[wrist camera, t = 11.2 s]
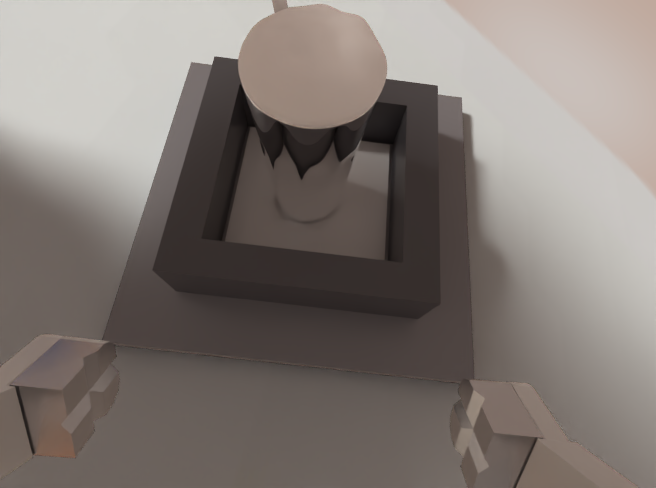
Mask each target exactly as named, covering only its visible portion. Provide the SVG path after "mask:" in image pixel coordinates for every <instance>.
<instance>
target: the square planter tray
mask: <svg viewBox="0 0 656 488" xmlns="http://www.w3.org/2000/svg"><path fill="white" fill-rule="evenodd" d="M102 340H103V341H110V342H112V343H113V344H115V345H118V346H127V347H136V348H145V349H154V350H163V351H172V352H181V353H190V354H199V355H208V356H217V357H226V358H235V359H244V360H253V361H262V362H271V363H280V364H289V365H298V366H307V367H316V368H326V369H335V370H344V371H353V372H362V373H371V374H380V375H389V376H398V377H407V378H416V379H425V380H434V381H443V382H452V383H460V382H461V381H462V380H463V379H464V378H470V379H474V360H473V337H472V315H471V293H470V271H469V249H468V226H467V204H466V182H465V160H464V138H463V116H462V98H460V97H452V96H445V95H438V86H435V85H428V84H420V83H413V82H405V81H397V80H390V79H386V80H385V84H384V87H383V89H382V91H381V93H380V96H379V99H378V101H377V103H376V106H375V108H374V111H373V113H372V116H371V118H370V120H369V123H368V125H367V128H366V130H365V133H364V135H363V138H362V140H361V142H360V145H359V148H358V150H357V153H356V156H355V158H354V161H353V164H352V167H351V170H350V172H349V175H348V178H347V181H346V184H345V186H344V189H343V192H342V195H341V198H340V200H339V203H338V206H337V208H336V209H334V210H333V211H332V212H331V213H330V214H329V215H328V216H326V217H325V218H324V219H323V220H320V221H311V222H302V223H301V222H299V221H297V220H295V219H293V218H291V217H289V216H287V215H285V214H283V212H282V210H281V208H280V206H279V204H278V202H277V200H276V198H275V196H274V193H273V190H272V186H271V182H270V178H269V175H268V171H267V167H266V163H265V160H264V156H263V152H262V148H261V144H260V141H259V137H258V134H257V131H256V127H255V124H254V121H253V118H252V115H251V112H250V109H249V105H248V102H247V99H246V96H245V93H244V89H243V86H242V83H241V80H240V76H239V71H238V59H230V58H223V57H214V61H213V64H212V65H208V64H200V63H193V62H191V65H190V68H189V72H188V75H187V78H186V81H185V84H184V87H183V90H182V93H181V96H180V100H179V103H178V106H177V109H176V112H175V115H174V118H173V121H172V124H171V127H170V131H169V134H168V137H167V140H166V143H165V146H164V149H163V152H162V155H161V159H160V162H159V165H158V168H157V171H156V174H155V177H154V180H153V183H152V187H151V190H150V193H149V196H148V199H147V202H146V205H145V208H144V211H143V215H142V218H141V221H140V224H139V227H138V230H137V233H136V236H135V239H134V242H133V246H132V249H131V252H130V255H129V258H128V261H127V264H126V267H125V270H124V274H123V277H122V280H121V283H120V286H119V289H118V292H117V295H116V298H115V302H114V305H113V308H112V311H111V314H110V317H109V320H108V323H107V326H106V330H105V333H104V336H103V339H102Z"/></svg>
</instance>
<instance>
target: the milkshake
mask: <svg viewBox="0 0 656 488" xmlns="http://www.w3.org/2000/svg"><path fill="white" fill-rule="evenodd" d="M272 2H273V7H274V12H275V13H274V14H272V15H270V16H268V17H266V18H264V19H262V20H261V21H259V22H258V23H257V24H256V25H255V26H254V27H253V28H252V29H251V30H250V32H249V33H248V35H247V37H246V38H245V40H244V42H243V45H242V47H241V50H240V53H239V58H238V71H239V76H240V80H241V83H242V86H243V89H244V93H245V96H246V99H247V102H248V105H249V109H250V112H251V115H252V118H253V121H254V124H255V127H256V131H257V134H258V137H259V141H260V144H261V148H262V152H263V156H264V160H265V163H266V167H267V171H268V175H269V178H270V182H271V186H272V190H273V193H274V196H275V198H276V200H277V202H278V204H279V206H280V208H281V210H282V212H283V214H285V215H287V216H289V217H291V218H293V219H295V220H297V221H299V222H301V223H302V222H311V221H320V220H323V219H324V218H325V217H326V216H328V215H329V214H330V213H331V212H332V211H333V210H334V209H336V208H337V206H338V203H339V200H340V198H341V195H342V192H343V189H344V186H345V184H346V181H347V178H348V175H349V172H350V170H351V167H352V164H353V161H354V158H355V156H356V153H357V150H358V148H359V145H360V142H361V140H362V138H363V135H364V133H365V130H366V128H367V125H368V123H369V120H370V118H371V116H372V113H373V111H374V108H375V106H376V103H377V101H378V99H379V96H380V93H381V91H382V89H383V87H384V84H385V80H386V75H387V61H386V57H385V54H384V52H383V49H382V48H381V46H380V44H379V42H378V40H377V39H376V37H375V35H374V33H373V31H372V30H371V28H370V26H369V25H368V23H367V22H366V21H365V19H363V18H362V17H360V16H358V15H355V14H350V13H345V12H342V11H339V10H337V9H335V8H333V7H331V6H328V5H324V4H315V5H308V6H299V7H289V8H288V6H287V0H272Z"/></svg>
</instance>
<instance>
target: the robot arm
mask: <svg viewBox="0 0 656 488" xmlns="http://www.w3.org/2000/svg"><path fill="white" fill-rule="evenodd" d="M116 357H117V354H116V348H115V344H113V343H112V342H110V341H103V340H95V339H87V338H79V337H71V336H61V335H52V334H43V335H39V336H37V337H36V338H35V339H34V340H32V341H31V342H30V343H29V344H27V345H26V346H25V347H24V348H23V349H21V350H20V351H19V352H18V353H17V354H15V355H14V356H13V357H12V358H10V359H9V360H8V361H7V362H6V363H4V364H3V365H2V366H1V367H0V480H1V479H3V478H4V477H5V476H7V475H8V474H10V473H11V472H13V471H14V470H16V469H17V468H19V467H20V466H21V465H23V464H24V463H26V462H27V461H29V460H30V459H32V458H33V455H39V456H54V457H70V458H76V457H77V455H78V454H79V452H80V451H81V450H82V448H83V447H84V445H85V444H86V443H87V441H88V440H89V438H90V437H91V436H92V434H93V433H94V431H95V429H94V421H96V420H97V419H99V418H101V417H103V416H104V415H106V414H107V413H108V411H109V410H110V408H111V407H112V405H113V404H114V401H115V399H116V396H117V393H118V391H119V382H120V378H119V371H118V370H117V369H116V368H115V367H114V366H113V365H112V364H111V363H112V362H113V361H114V359H115V358H116ZM458 393H459V396H460V398H461V400H460V401H458V402H457V403H456V404H454V405H453V408H452V412H451V415H450V433H451V439H452V442H453V445H454V448H455V449H456V450H457V451H458V452H459V453H460V454H461V455H462V456H463V460H462V463H461V466H460V467H461V470H462V473H463V476H464V478H465V481H466V484H467V487H468V488H639V487H638V486H636V485H635V484H633V483H632V482H631V481H629V480H628V479H627V478H625V477H624V476H622V475H621V474H620V473H618V472H617V471H616V470H614V469H613V468H611V467H610V466H609V465H607V464H606V463H604V462H603V461H602V460H600V459H599V458H598V457H596V456H595V455H593V454H592V453H591V452H589V451H588V450H587V449H585V448H584V447H582V446H581V445H580V444H578V443H577V442H570V441H569V440H568V438H567V437H566V435H565V434H564V432H563V431H562V429H561V428H560V426H559V425H558V423H557V422H556V420H555V419H554V417H553V416H552V414H551V413H550V411H549V410H548V408H547V407H546V405H545V404H544V402H543V401H542V399H541V398H540V396H539V395H538V393H537V392H536V390H535V389H534V387H533V386H531V385H530V384H528V383H519V382H501V381H491V380H480V379H470V378H464V379H463V380H462V381H461V382H460V385H459V388H458Z"/></svg>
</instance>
